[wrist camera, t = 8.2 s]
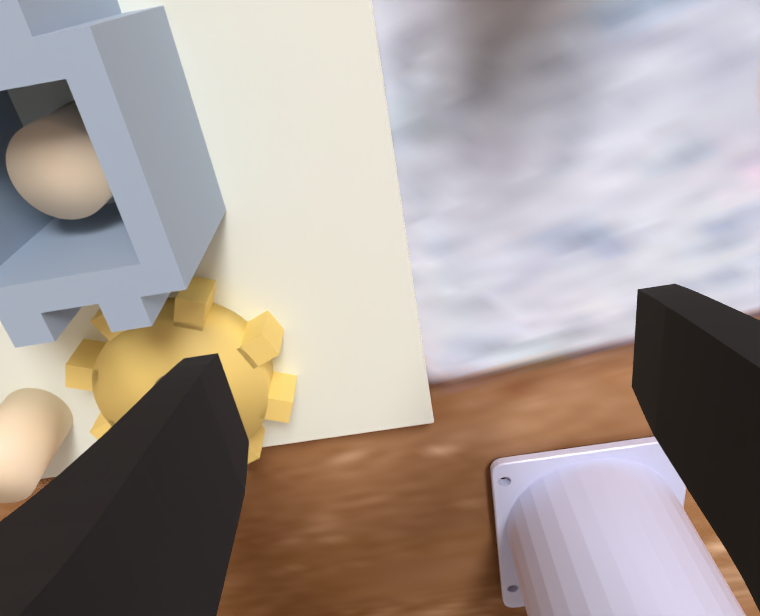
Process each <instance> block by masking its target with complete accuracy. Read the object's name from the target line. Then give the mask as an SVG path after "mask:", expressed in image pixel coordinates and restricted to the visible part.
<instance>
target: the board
mask: <svg viewBox="0 0 760 616" xmlns="http://www.w3.org/2000/svg"><path fill="white" fill-rule="evenodd" d="M117 1H118V4H119V6H120V9H121V12H122V13H126V12H131V11H137V10H142V9H147V8H153V7H158V6H163V5H164V9H165V12H166V15H167V18H168V22H169V25H170V28H171V32H172V35H173V38H174V41H175V45H176V48H177V51H178V54H179V58H180V61H181V64H182V67H183V71H184V74H185V77H186V80H187V84H188V87H189V90H190V93H191V97H192V100H193V103H194V106H195V110H196V113H197V116H198V119H199V123H200V126H201V129H202V132H203V136H204V139H205V142H206V146H207V149H208V152H209V155H210V159H211V162H212V165H213V168H214V172H215V175H216V178H217V181H218V185H219V188H220V191H221V194H222V198H223V201H224V204H225V207H226V212H225V214H224V216H223V218H222V220H221V222H220V224H219V226H218V228H217V230H216V232H215V234H214V236H213V238H212V240H211V242H210V244H209V246H208V248H207V250H206V252H205V254H204V256H203V258H202V260H201V262H200V264H199V266H198V268H197V270H196V271H195V273H194V275H193V277H192V279H191V281H190V283H189V285H188V287H187V289H186V290H181V291H174V292H170V294H169V296H168V298H167V300H166V302H165V303H164V305H163V307H162V309H161V311H160V313H159V314H158V316H157V318H156V320H155V322H154V324H153V325H152V326H149V327H143V328H137V329H130V330H124V331H118V332H111V330H110V328H109V326H108V324H107V321H106V319H105V317H104V315H103V313H102V311H101V308H100V306H99V304H94V305H88V306H82V307H81V309H80V310H79V311H78V313H77V314H76V315H75V316H74V318H73V319H72V320H71V322H70V323H69V324H68V325H67V327H66V328H65V329H64V331H63V332H62V333H61V335H60V336H59V337H58V338H57V340H56V341H55V342H49V343H42V344H36V345H30V346H23V347H17V348H15V346H14V345H13V343H12V341H11V339H10V338H9V336H8V334H7V332H6V330H5V329H4V327H3V325H2V323H1V321H0V503H13V502H18V501H21V500H24V499H26V498H27V497H29V496H30V495H31V494H32V492H33V491H34V489H35V488H36V486H37V484H38V483H39V481H40V479H44V478H51V477H57V476H58V475H59V474H60V473H61V472H62V471H64V470H65V469H66V468H67V467H68V466H69V465H70V464H71V463H73V462H74V461H75V460H76V459H77V458H78V457H79V456H80V455H81V454H83V453H84V452H85V451H86V450H87V449H88V448H89V447H90V446H92V445H93V444H94V443H95V442H96V441H97V440H98V439H99V438H100V437H102V436H103V435H104V434H105V433H106V432H107V431H108V430H109V429H110V428H111V427H112V426H113V425H114V424H115V423H116V422H117V421H118V420H119V419H120V418H121V417H122V416H123V415H124V414H126V413H127V412H128V411H129V410H130V409H131V408H132V407H133V406H134V405H135V404H136V403H137V402H138V401H139V400H140V399H141V398H142V397H143V396H144V395H145V394H146V393H147V392H148V391H149V390H150V389H151V388H152V387H153V386H154V385H155V384H156V383H157V382H158V381H159V380H160V379H161V378H162V377H163V376H164V375H166V374H167V373H168V372H169V371H170V370H171V369H172V368H173V367H174V366H175V365H176V364H178V363H179V362H180V361H181V360H182V359H184V358H189V357H196V356H202V355H209V354H215V353H218V355H219V357H220V360H221V363H222V366H223V369H224V372H225V374H226V377H227V380H228V383H229V386H230V389H231V391H232V394H233V397H234V400H235V403H236V406H237V408H238V411H239V414H240V417H241V420H242V422H243V425H244V428H245V431H246V434H247V437H248V439H249V451H248V464H249V463H251V462H253V461H255V460H257V459H259V458H260V454H261V449H262V447H268V446H275V445H282V444H289V443H296V442H303V441H310V440H317V439H324V438H331V437H338V436H345V435H352V434H359V433H366V432H373V431H380V430H387V429H394V428H401V427H408V426H415V425H421V424H428V423H434V419H433V412H432V405H431V399H430V392H429V385H428V378H427V372H426V365H425V358H424V351H423V345H422V338H421V331H420V324H419V318H418V311H417V304H416V297H415V291H414V284H413V277H412V270H411V264H410V257H409V250H408V243H407V237H406V230H405V223H404V216H403V210H402V203H401V196H400V189H399V182H398V176H397V169H396V162H395V155H394V149H393V142H392V135H391V128H390V122H389V115H388V108H387V101H386V95H385V88H384V81H383V74H382V68H381V61H380V54H379V47H378V41H377V34H376V27H375V20H374V14H373V7H372V0H117ZM7 91H8V94H9V96H10V98H11V100H12V103H13V105H14V107H15V109H16V111H17V114H18V116H19V118H20V120H21V122H22V125H23V128H21V129H20V130H19V131H17V132H16V133H15V134H14V136H13V137H12V138H11V140H10V142H9V144H8V147H7V151H6V167H7V171H8V175H9V177H10V179H11V182H12V183H13V185H14V187H15V188H16V190H17V191H18V193H19V194H20V195H21V196H22V197H23V198H24V199H25V200H26V201H27V202H28V203H29V204H30V205H32V206H33V207H34V208H36V209H38V210H39V211H41V212H43V213H45V214H47V215H50V216H53V217H56V218H60V219H71V220H73V219H81V218H85V217H88V216H90V215H92V214H94V213H96V212H97V211H98V210H99V209H101V208H102V207H103V206H104V205H105V204H109V203H115V200H114V197H113V195H112V192H111V190H110V187H109V185H108V182H107V180H106V177H105V175H104V172H103V170H102V167H101V165H100V162H99V160H98V157H97V155H96V152H95V150H94V147H93V145H92V142H91V140H90V137H89V135H88V132H87V130H86V127H85V125H84V122H83V120H82V117H81V115H80V112H79V110H78V107H77V105H76V102H75V100H74V98H73V95H72V93H71V90H70V88H69V85H68V83H67V80H66V79H63V80H57V81H52V82H46V83H41V84H35V85H30V86H24V87H19V88H13V89H8V90H7Z"/></svg>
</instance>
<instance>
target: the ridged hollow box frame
mask: <svg viewBox="0 0 760 616" xmlns="http://www.w3.org/2000/svg"><path fill="white" fill-rule="evenodd" d="M63 79H66V80H67V83H68V85H69V88H70V90H71V93H72V95H73V98H74V100H75V102H76V105H77V107H78V110H79V112H80V115H81V117H82V120H83V122H84V125H85V127H86V130H87V132H88V135H89V137H90V140H91V142H92V145H93V147H94V150H95V152H96V155H97V157H98V160H99V162H100V165H101V167H102V170H103V172H104V175H105V177H106V180H107V182H108V185H109V187H110V190H111V192H112V195H113V197H114V200H115V203H109V204H105V205H104V206H103V207H102V208H101V209H99V210H98V211H97V212H96V213H94V214H92V215H90V216H88V217H85V218H81V219H73V220H71V219H60V218H56V217H53V216H50V215H47V214H45V213H43V212H41V211H39V210H38V209H36V208H34V207H33V206H32V205H30V204H29V203H28V202H27V201H26V200H25V199H24V198H23V197H22V196H21V195H20V194H19V193H18V191H17V190H16V188H15V187H14V185H13V183H12V182H11V179H10V177H9V175H8V171H7V167H6V151H7V147H8V144H9V142H10V140H11V138H12V137H13V136H14V134H15V133H16V132H17V131H19V130H20V129H21V128H23V125H22V122H21V120H20V118H19V116H18V114H17V111H16V109H15V107H14V105H13V103H12V100H11V98H10V96H9V94H8V91H7V90H8V89H13V88H19V87H24V86H30V85H35V84H41V83H46V82H52V81H57V80H63ZM225 212H226V207H225V204H224V201H223V198H222V194H221V191H220V188H219V185H218V181H217V178H216V175H215V172H214V168H213V165H212V162H211V159H210V155H209V152H208V149H207V146H206V142H205V139H204V136H203V132H202V129H201V126H200V123H199V119H198V116H197V113H196V110H195V106H194V103H193V100H192V97H191V93H190V90H189V87H188V84H187V80H186V77H185V74H184V71H183V67H182V64H181V61H180V58H179V54H178V51H177V48H176V45H175V41H174V38H173V35H172V32H171V28H170V25H169V22H168V18H167V15H166V12H165V9H164V5H163V6H158V7H153V8H147V9H142V10H137V11H131V12H126V13H122V12H121V9H120V6H119V4H118V1H117V0H0V321H1V323H2V325H3V327H4V329H5V330H6V332H7V334H8V336H9V338H10V339H11V341H12V343H13V345H14V346H15V348H17V347H23V346H30V345H36V344H42V343H49V342H55V341H56V340H57V338H58V337H59V336H60V335H61V333H62V332H63V331H64V329H65V328H66V327H67V325H68V324H69V323H70V322H71V320H72V319H73V318H74V316H75V315H76V314H77V313H78V311H79V310H80V309H81V307H82V306H88V305H94V304H99V306H100V308H101V311H102V313H103V315H104V317H105V319H106V321H107V324H108V326H109V328H110V330H111V332H118V331H124V330H130V329H137V328H143V327H149V326H152V325H153V324H154V322H155V320H156V318H157V316H158V314H159V313H160V311H161V309H162V307H163V305H164V303H165V302H166V300H167V298H168V296H169V294H170V292H174V291H181V290H186V289H187V287H188V285H189V283H190V281H191V279H192V277H193V275H194V273H195V271H196V270H197V268H198V266H199V264H200V262H201V260H202V258H203V256H204V254H205V252H206V250H207V248H208V246H209V244H210V242H211V240H212V238H213V236H214V234H215V232H216V230H217V228H218V226H219V224H220V222H221V220H222V218H223V216H224V214H225Z"/></svg>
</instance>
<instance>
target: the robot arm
mask: <svg viewBox="0 0 760 616" xmlns="http://www.w3.org/2000/svg"><path fill="white" fill-rule="evenodd" d="M632 388H633V390H634V393H635V395H636V397H637V399H638V402H639V404H640V406H641V409H642V411H643V413H644V415H645V418H646V420H647V422H648V424H649V426H650V428H651V430H652V432H653V434H654V436H655V437H648V438H640V439H633V440H626V441H619V442H612V443H605V444H597V445H590V446H583V447H576V448H569V449H561V450H554V451H547V452H540V453H533V454H526V455H518V456H511V457H504V458H499V459H496V460H495V461H493V463H492V464H491V466H490V472H491V483H492V494H493V505H494V516H495V527H496V537H497V548H498V559H499V570H500V581H501V591H502V599H503V603H504V605H506V606H507V607H510V608H516V607H523V606H525V608H526V612H527V616H746V615H745V613H744V611H743V610H742V608H741V606H740V605H739V603H738V601H737V599H736V598H735V596H734V594H733V593H732V591H731V589H730V587H729V586H728V584H727V582H726V581H725V579H724V577H723V575H722V574H721V572H720V570H719V569H718V567H717V565H716V564H715V562H714V560H713V558H712V557H711V555H710V553H709V552H708V550H707V548H706V546H705V545H704V543H703V541H702V540H701V538H700V536H699V535H698V533H697V531H696V529H695V528H694V526H693V524H692V523H691V521H690V519H689V517H688V516H687V514H686V512H685V511H684V509H683V507H684V499H685V492H686V487H687V489H688V491H689V492H690V494H691V495H692V497H693V498H694V500H695V502H696V503H697V505H698V506H699V508H700V509H701V511H702V512H703V514H704V516H705V517H706V519H707V520H708V522H709V523H710V525H711V526H712V528H713V530H714V531H715V533H716V534H717V536H718V537H719V539H720V541H721V542H722V544H723V545H724V547H725V548H726V550H727V552H728V553H729V555H730V557H731V559H732V560H733V562H734V564H735V565H736V567H737V569H738V571H739V572H740V574H741V576H742V578H743V579H744V581H745V583H746V585H747V587H748V589H749V591H750V593H751V595H752V597H753V599H754V601H755V603H756V605H757V607H758V609H759V611H760V320H757V319H755V318H753V317H751V316H749V315H746V314H744V313H742V312H740V311H738V310H736V309H733V308H731V307H729V306H727V305H725V304H722V303H720V302H718V301H716V300H714V299H711V298H709V297H707V296H704V295H702V294H700V293H698V292H695V291H693V290H690V289H688V288H685V287H682V286H680V285H677V284H671V285H664V286H657V287H651V288H644V289H638V295H637V312H636V328H635V344H634V360H633V376H632ZM248 451H249V439H248V437H247V434H246V431H245V428H244V425H243V422H242V420H241V417H240V414H239V411H238V408H237V406H236V403H235V400H234V397H233V394H232V391H231V389H230V386H229V383H228V380H227V377H226V374H225V372H224V369H223V366H222V363H221V360H220V357H219V355H218V353H215V354H209V355H202V356H196V357H189V358H184V359H182V360H181V361H180V362H179V363H178V364H176V365H175V366H174V367H173V368H172V369H171V370H170V371H169V372H168V373H167V374H166V375H164V376H163V377H162V378H161V379H160V380H159V381H158V382H157V383H156V384H155V385H154V386H153V387H152V388H151V389H150V390H149V391H148V392H147V393H146V394H145V395H144V396H143V397H142V398H141V399H140V400H139V401H138V402H137V403H136V404H135V405H134V406H133V407H132V408H131V409H130V410H129V411H128V412H127V413H126V414H124V415H123V416H122V417H121V418H120V419H119V420H118V421H117V422H116V423H115V424H114V425H113V426H112V427H111V428H110V429H109V430H108V431H107V432H106V433H105V434H104V435H103V436H102V437H100V438H99V439H98V440H97V441H96V442H95V443H94V444H93V445H92V446H90V447H89V448H88V449H87V450H86V451H85V452H84V453H83V454H81V455H80V456H79V457H78V458H77V459H76V460H75V461H74V462H73V463H71V464H70V465H69V466H68V467H67V468H66V469H65V470H64V471H62V472H61V473H60V474H59V475H58V476H57V477H56V478H55V479H53V480H52V481H51V482H50V483H49V484H47V485H46V486H45V487H44V488H43V489H41V490H40V491H39V492H38V493H36V494H35V495H34V496H33V497H32V498H30V499H29V500H28V501H27V502H25V503H24V504H23V505H21V506H20V507H19V508H17V509H16V510H15V511H14V512H12V513H11V514H10V515H8V516H7V517H6V518H4V519H3V520H2V521H0V616H216V614H217V610H218V606H219V602H220V597H221V593H222V589H223V585H224V581H225V576H226V572H227V568H228V564H229V559H230V555H231V551H232V547H233V542H234V538H235V534H236V529H237V525H238V521H239V516H240V512H241V507H242V503H243V498H244V493H245V484H246V475H247V464H248ZM503 477H507V478H505V479H501V478H503Z"/></svg>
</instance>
